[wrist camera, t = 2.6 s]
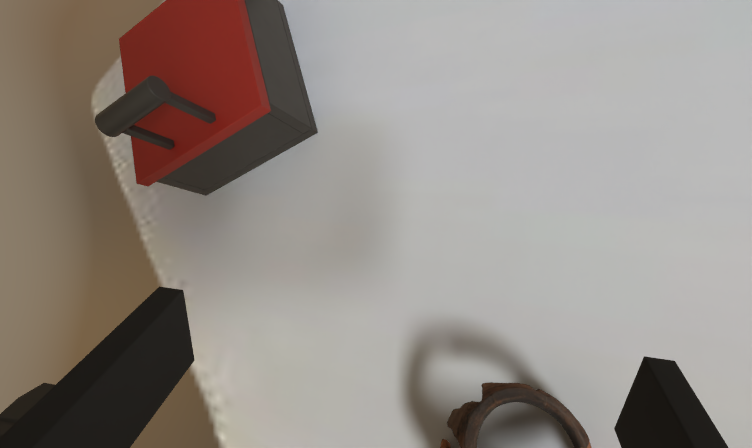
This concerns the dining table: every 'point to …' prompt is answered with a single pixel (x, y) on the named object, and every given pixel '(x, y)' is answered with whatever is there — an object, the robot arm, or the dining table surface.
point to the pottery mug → (495, 394)
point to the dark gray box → (268, 132)
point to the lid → (185, 84)
